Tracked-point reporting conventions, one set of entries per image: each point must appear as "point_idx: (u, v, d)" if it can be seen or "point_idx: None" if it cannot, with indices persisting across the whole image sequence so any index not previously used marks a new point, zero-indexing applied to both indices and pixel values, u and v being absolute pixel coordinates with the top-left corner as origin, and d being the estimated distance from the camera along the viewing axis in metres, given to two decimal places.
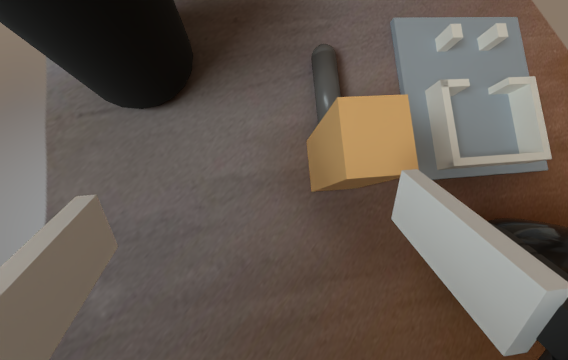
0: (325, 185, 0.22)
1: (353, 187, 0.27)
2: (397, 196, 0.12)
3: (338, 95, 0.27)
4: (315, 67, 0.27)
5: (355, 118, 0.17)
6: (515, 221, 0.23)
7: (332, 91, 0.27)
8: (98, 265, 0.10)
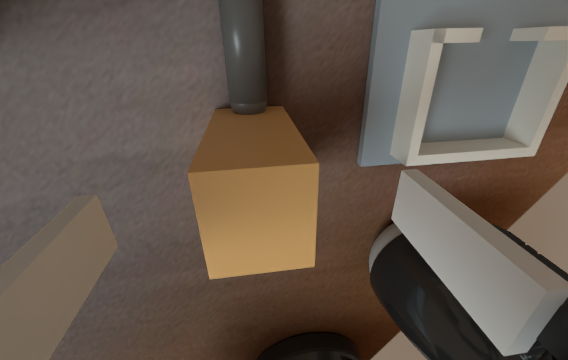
0: None
1: None
2: (397, 196, 0.12)
3: (257, 48, 0.16)
4: None
5: (222, 204, 0.11)
6: None
7: (245, 42, 0.15)
8: (99, 265, 0.10)
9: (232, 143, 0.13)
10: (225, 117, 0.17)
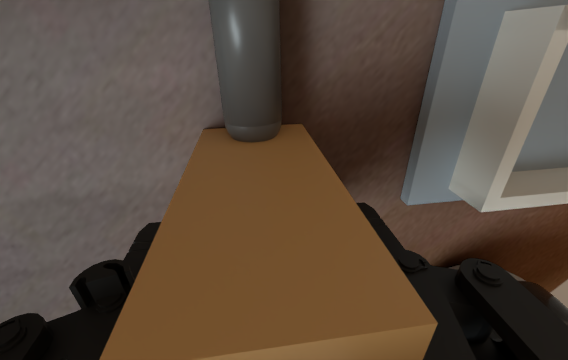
0: None
1: None
2: None
3: (269, 37, 0.10)
4: None
5: None
6: None
7: (248, 27, 0.09)
8: None
9: (225, 223, 0.06)
10: (216, 148, 0.11)
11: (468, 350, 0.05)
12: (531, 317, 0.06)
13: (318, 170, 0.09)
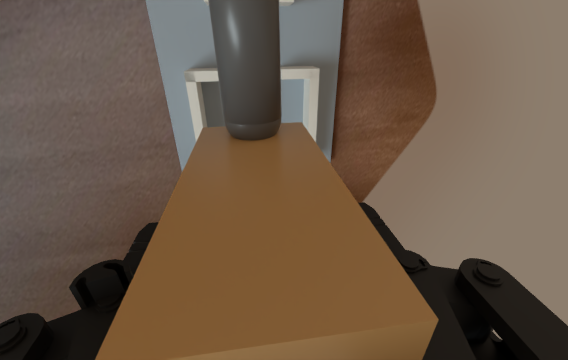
0: None
1: None
2: None
3: (268, 34, 0.10)
4: None
5: None
6: None
7: (248, 24, 0.09)
8: None
9: (224, 220, 0.06)
10: (216, 145, 0.11)
11: (468, 350, 0.05)
12: (532, 318, 0.06)
13: (318, 168, 0.09)
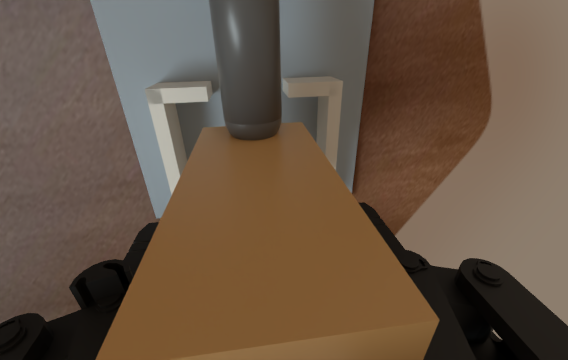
0: None
1: None
2: None
3: (269, 34, 0.10)
4: None
5: None
6: None
7: (248, 24, 0.09)
8: None
9: (224, 220, 0.06)
10: (216, 145, 0.11)
11: (468, 350, 0.05)
12: (532, 318, 0.06)
13: (318, 168, 0.09)
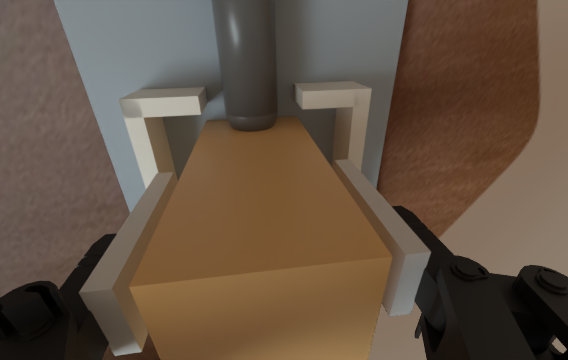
0: None
1: None
2: None
3: (265, 36, 0.11)
4: None
5: (203, 329, 0.06)
6: None
7: (247, 27, 0.10)
8: None
9: (227, 192, 0.08)
10: (218, 136, 0.12)
11: None
12: None
13: (308, 153, 0.10)
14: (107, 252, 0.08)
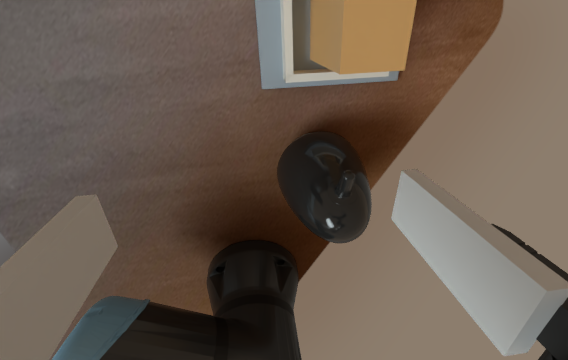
0: (322, 64, 0.24)
1: None
2: (397, 196, 0.12)
3: None
4: None
5: (359, 9, 0.17)
6: (317, 140, 0.28)
7: None
8: (98, 265, 0.10)
9: None
10: None
11: None
12: None
13: None
14: None
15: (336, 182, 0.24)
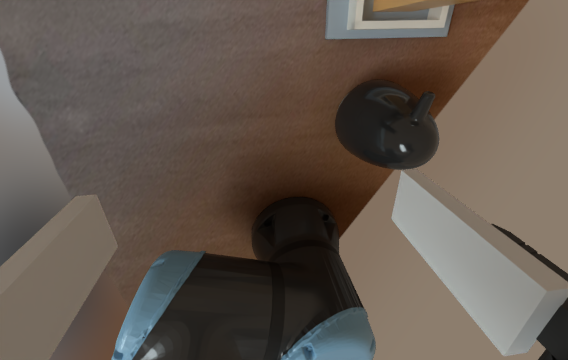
0: (396, 5, 0.27)
1: (411, 10, 0.31)
2: (397, 196, 0.12)
3: None
4: None
5: None
6: (380, 83, 0.31)
7: None
8: (99, 265, 0.10)
9: None
10: None
11: None
12: None
13: None
14: None
15: (410, 109, 0.26)
